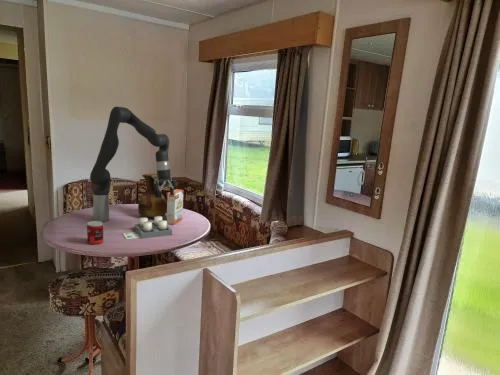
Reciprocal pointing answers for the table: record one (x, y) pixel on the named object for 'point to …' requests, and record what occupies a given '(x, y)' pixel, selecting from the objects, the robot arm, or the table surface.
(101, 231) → the canned food
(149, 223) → the button
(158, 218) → the button
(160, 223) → the button
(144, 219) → the button
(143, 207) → the ceramic pitcher
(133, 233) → the card
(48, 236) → the table surface
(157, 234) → the board
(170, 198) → the cracker box
